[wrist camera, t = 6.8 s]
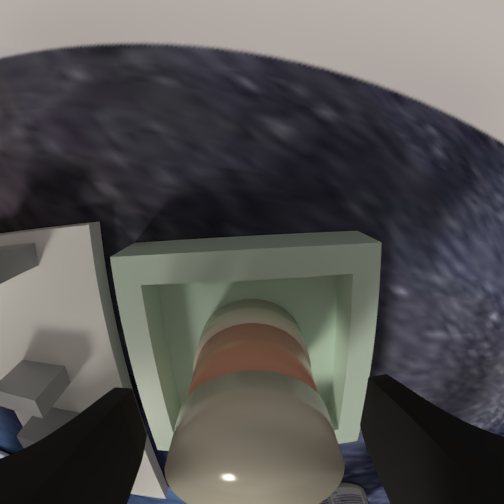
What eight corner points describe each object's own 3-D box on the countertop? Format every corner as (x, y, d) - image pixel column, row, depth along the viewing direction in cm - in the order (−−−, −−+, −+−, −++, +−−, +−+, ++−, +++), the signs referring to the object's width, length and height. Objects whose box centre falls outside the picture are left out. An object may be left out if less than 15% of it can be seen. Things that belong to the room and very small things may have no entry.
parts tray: (344, 408, 14) (357, 440, 12) (167, 416, 14) (157, 450, 12) (357, 230, 12) (381, 242, 10) (134, 242, 12) (109, 257, 10)
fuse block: (168, 487, 16) (158, 534, 12) (56, 465, 16) (37, 501, 12) (99, 221, 12) (46, 238, 8) (-28, 237, 12) (-78, 253, 8)
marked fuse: (301, 382, 13) (333, 512, 6) (207, 387, 13) (184, 519, 6) (302, 295, 12) (356, 413, 5) (194, 301, 12) (144, 423, 5)
